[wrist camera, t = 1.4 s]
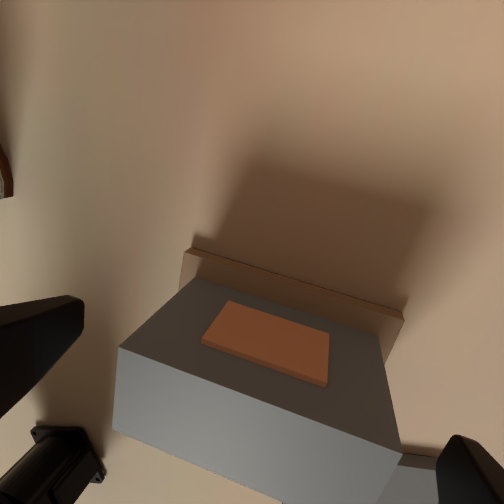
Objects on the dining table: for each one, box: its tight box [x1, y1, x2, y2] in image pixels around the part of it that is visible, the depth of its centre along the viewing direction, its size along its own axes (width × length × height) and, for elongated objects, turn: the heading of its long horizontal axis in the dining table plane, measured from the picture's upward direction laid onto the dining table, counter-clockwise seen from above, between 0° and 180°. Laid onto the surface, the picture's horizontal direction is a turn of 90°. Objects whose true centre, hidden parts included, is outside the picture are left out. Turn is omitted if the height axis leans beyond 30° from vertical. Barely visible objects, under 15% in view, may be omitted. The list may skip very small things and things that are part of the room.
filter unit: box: [112, 248, 405, 504], centre depth 18 cm, size 14×8×9 cm, turn 78°
